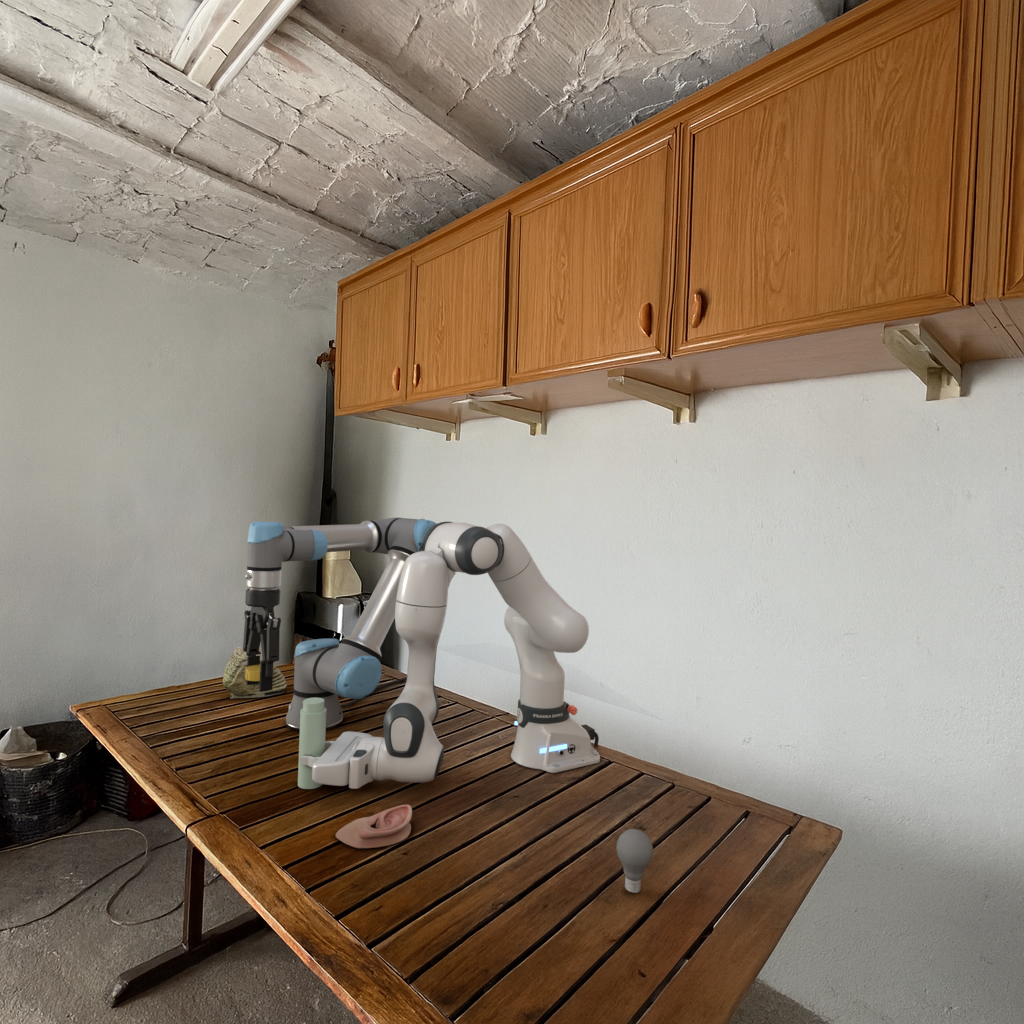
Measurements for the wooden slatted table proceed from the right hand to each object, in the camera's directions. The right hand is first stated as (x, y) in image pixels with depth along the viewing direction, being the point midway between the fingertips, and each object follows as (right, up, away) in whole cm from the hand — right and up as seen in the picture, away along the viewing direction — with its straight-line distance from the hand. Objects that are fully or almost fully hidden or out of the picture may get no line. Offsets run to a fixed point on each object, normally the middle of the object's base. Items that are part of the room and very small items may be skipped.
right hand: (307, 753), depth 140 cm
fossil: (-36, -4, +59) cm, 69 cm away
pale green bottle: (+1, -7, 0) cm, 7 cm away
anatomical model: (+19, -8, -20) cm, 28 cm away
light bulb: (+65, -10, -34) cm, 74 cm away
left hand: (-14, +12, +8) cm, 20 cm away
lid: (-14, +17, +8) cm, 23 cm away
